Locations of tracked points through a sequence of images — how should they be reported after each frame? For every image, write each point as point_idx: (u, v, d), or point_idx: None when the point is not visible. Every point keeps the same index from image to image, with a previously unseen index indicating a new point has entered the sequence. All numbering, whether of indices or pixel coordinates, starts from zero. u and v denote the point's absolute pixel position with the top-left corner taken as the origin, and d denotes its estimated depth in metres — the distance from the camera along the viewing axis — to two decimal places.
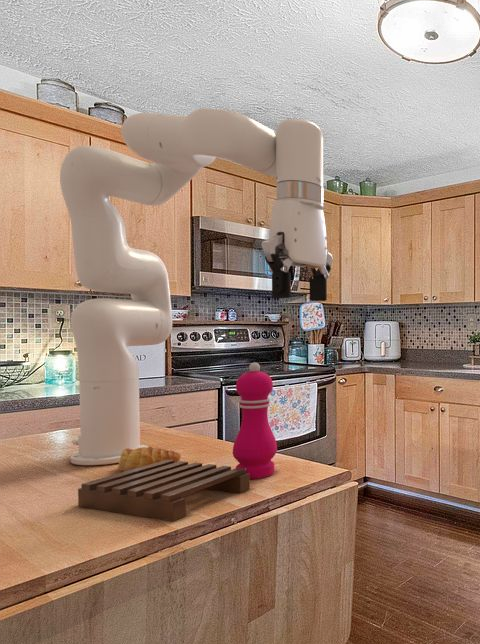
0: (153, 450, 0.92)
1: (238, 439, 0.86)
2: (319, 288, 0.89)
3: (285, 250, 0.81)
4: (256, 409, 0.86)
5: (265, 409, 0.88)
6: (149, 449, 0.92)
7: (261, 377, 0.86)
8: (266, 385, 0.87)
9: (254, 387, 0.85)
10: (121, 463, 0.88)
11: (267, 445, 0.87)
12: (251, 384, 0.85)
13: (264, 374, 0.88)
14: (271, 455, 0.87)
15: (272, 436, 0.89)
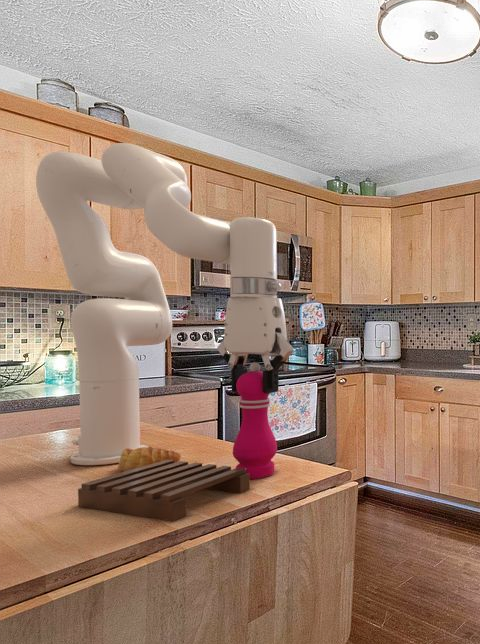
0: (153, 450, 0.92)
1: (239, 439, 0.86)
2: None
3: None
4: (256, 409, 0.86)
5: (265, 409, 0.88)
6: (149, 449, 0.92)
7: (261, 377, 0.86)
8: None
9: (254, 387, 0.85)
10: (121, 463, 0.88)
11: (267, 445, 0.87)
12: (251, 384, 0.85)
13: None
14: (271, 455, 0.87)
15: (272, 436, 0.89)
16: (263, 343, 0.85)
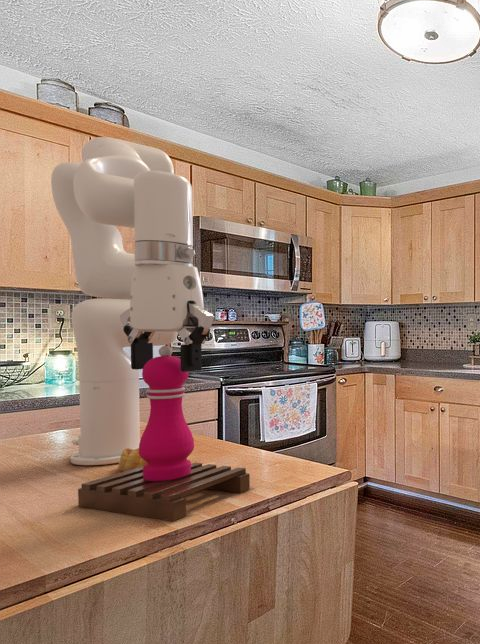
0: None
1: (144, 435, 0.74)
2: None
3: None
4: (166, 400, 0.74)
5: (178, 400, 0.76)
6: None
7: (171, 362, 0.74)
8: (178, 372, 0.74)
9: (162, 374, 0.73)
10: (121, 463, 0.88)
11: (179, 441, 0.74)
12: (158, 370, 0.73)
13: (176, 359, 0.75)
14: (184, 453, 0.75)
15: (187, 431, 0.76)
16: (172, 318, 0.72)
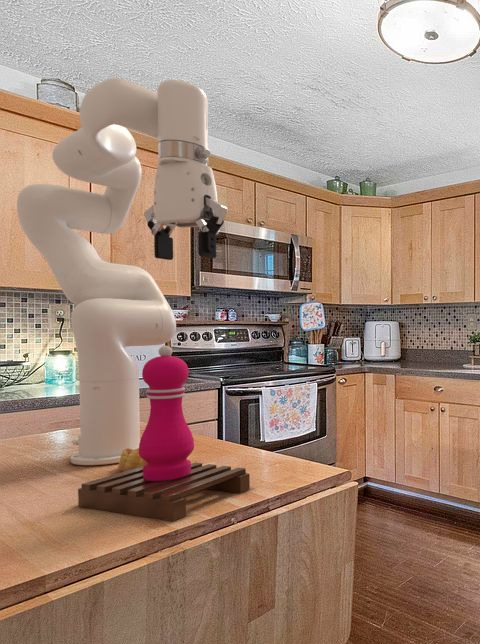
0: None
1: (144, 435, 0.74)
2: None
3: None
4: (166, 400, 0.74)
5: (178, 400, 0.76)
6: None
7: (171, 362, 0.74)
8: (178, 372, 0.74)
9: (162, 374, 0.73)
10: (121, 463, 0.88)
11: (179, 441, 0.74)
12: (158, 370, 0.73)
13: (176, 359, 0.75)
14: (184, 453, 0.75)
15: (187, 431, 0.76)
16: (191, 208, 0.83)
